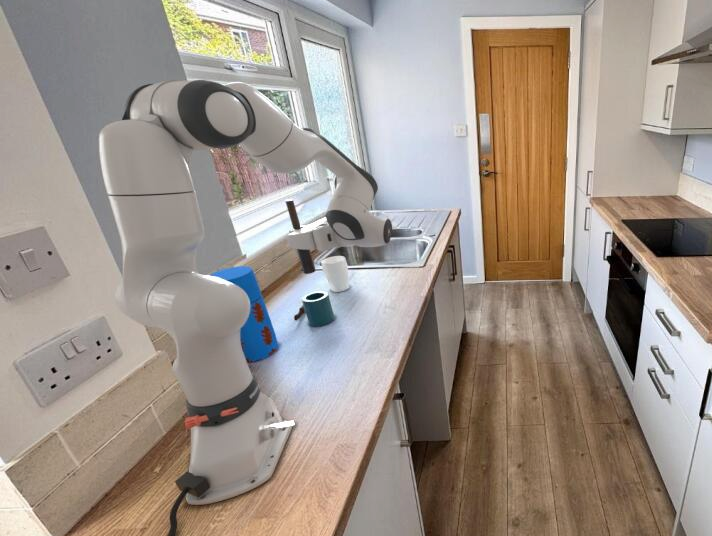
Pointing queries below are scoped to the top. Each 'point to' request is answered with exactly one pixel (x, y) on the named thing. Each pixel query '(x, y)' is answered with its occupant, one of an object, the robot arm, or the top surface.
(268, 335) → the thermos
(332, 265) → the cup
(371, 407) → the top surface
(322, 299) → the teal hollow cylinder
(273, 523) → the top surface
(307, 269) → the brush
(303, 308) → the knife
